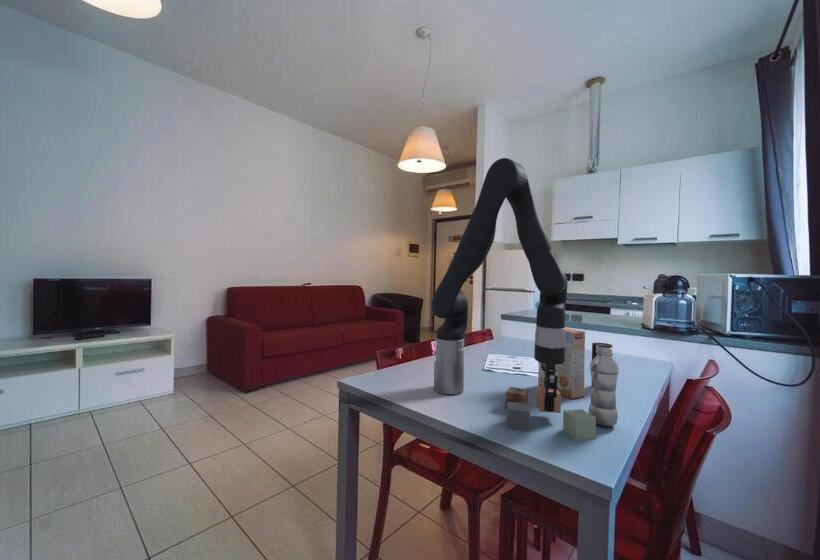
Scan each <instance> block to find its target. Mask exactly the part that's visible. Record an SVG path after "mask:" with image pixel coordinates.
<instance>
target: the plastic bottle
mask: <svg viewBox="0 0 820 560" xmlns="http://www.w3.org/2000/svg"><path fill="white" fill-rule="evenodd" d="M596 353H597V355H596V357H595V358H594V359H593V360H592V359H591V361H590V364H589V371H590V378H591V380H590V381H591V382H592V387H591V395H590V403H589V406H588V413H589V414H590V415H592V416H594V417H595V418H596V425H598V426H603V427H608V428H609V427H614V426H616V425H617V422H618V419H619V414H618V409H617V398H616V394H617V393H616V390H617V382H618V377H619V372H620V370H619V366H618V364H617V362H616V361H615V359H614V358H613V355H614V353H613V346H612V347H610V346H605V345H597V346H596Z"/></svg>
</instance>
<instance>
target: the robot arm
mask: <svg viewBox="0 0 820 560" xmlns="http://www.w3.org/2000/svg"><path fill="white" fill-rule="evenodd" d="M530 185H531V184H530V181H529V177H528V173H527V170H526V168H524V166H523V165H522V164H520V163H518V162H516V161H515V160H513V159H511V158H507V157H501V158H499V159H496V160H495V161H494V162H493V163H492V164H491V165H490V167H489V168H488V170H487V172H486V174H485V177H484V179H483V183H482V187H481V189H480V192H479V195H478V197H477V198H478V199H477V202H476V204H475V207H474V209H473V212H471V216H470V218H469V220H468V223H467V225H466V228H465V230H464V231H463V233H462V236H461V238H460V241H459V243H458V245H457V247H456V251H455V252H454V255H453V258H452V259H451V262H450V263H449V266H448V268H447V270H446V272H445V274H444V276H443V278H442V280H441V281H440V283H439V284H438V286H437V288H436V289H435V291H434V294H433V295H432V299H431V311H432V313H433V315H434V316H435V317H437V318H439V319H444V321H443V323H442V324H441V325H440V326H439V327H437V329H436V333H435V337H436V338H435V361H434V365H433V368H434V369H433V375H434V376H433V392H437V391H438V392H437V393H439V392H440V393H439V394H442V393H445V394H444V395H448V394H455V395H460V394H462V393H464V385H465V383H464V381H465V378H464V375H465V334H466V331H467V329H468V315H469V302H468V298H467V295H466V294H465V293H464V291H462V290H461V289H462V287H463V286H464V284H465V283H466V282H467V280H468V279H469V278H470V277H471V276H472V275H473V274H474V273H475V272H476V271H477V270H478V269H479V268H480V267H481V266H482V265H483V263H484V261H485V260H486V259H487V257H488V255H489V253H490V251H491V248H492V246H493V244H494V240H495V236H496V231H497V230H496V227H497V220H498V216H499V213H500V209H501V208H502V205H503V203H504V202H505V200H507V202H508V203H509V205H510V207H511V209H512V211H513V215H514V218H515V224H516V231H517V237H518V240H519V243H520V245H521V248H522V250H523V252H524V255H525V257H526V259H527V261H528V264H529V268H530V272H531V275H532V278H533V282H534V284H535V286H536V288H537V290H539V304H538V306H537V308H536V320H535V321H536V323H535V324H536V325H535V332H534V354H533V359H534V361H536V362H538V363H539V362H541V365H542V366H540V371H541V383H542V385H541V386H543V387H544V388H545V393H544V395H545V407H544V408H545V411H549V412H548V413H552V412H553V411H554V398H556V396H557V379H558V377H557V376H558V370H556V368H555V365H557V364H563V363H564V362H565V341H566V336H565V328H566V310H565V309H566V302H567V301H566V300H567V293H568V278H567V275H566V274H565V273H564V271H562V270H561V268H560V266H559V264H558V262H557V260H556V256H555V253H554V252H555V251H554V248H553V245H552V242H551V241H550V238H549V236H548V233H547V232H546V230H545V227H544V225H543V222H542V220H541V217H540V215H539V212H538V209H537V207H536V203H535V202H534V198H533V197H534V196H533V193H532V190H531V186H530ZM548 389H553V392H548ZM459 393H460V394H459Z"/></svg>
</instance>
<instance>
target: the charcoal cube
mask: <svg viewBox="0 0 820 560" xmlns="http://www.w3.org/2000/svg"><path fill="white" fill-rule="evenodd" d="M530 415H531V411H530V408H529V405H527V404H525V403H514V402H507V409H506V424H507V425H508V426H507V430H510V429H512V431H521V432H530V421H531V419H530V417H531V416H530Z"/></svg>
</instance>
